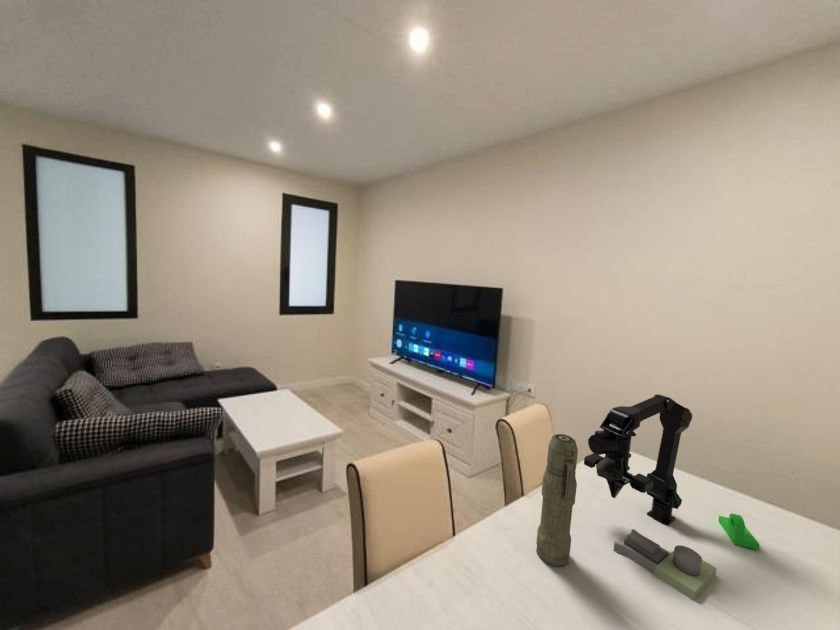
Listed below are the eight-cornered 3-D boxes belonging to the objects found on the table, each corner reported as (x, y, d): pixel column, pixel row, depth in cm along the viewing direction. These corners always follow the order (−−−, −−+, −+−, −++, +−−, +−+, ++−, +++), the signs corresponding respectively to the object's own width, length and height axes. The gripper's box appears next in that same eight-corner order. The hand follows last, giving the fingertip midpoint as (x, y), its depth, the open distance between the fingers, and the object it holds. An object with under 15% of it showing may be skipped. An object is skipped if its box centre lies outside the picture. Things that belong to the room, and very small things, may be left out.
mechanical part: (758, 550, 109) (762, 525, 108) (734, 543, 111) (737, 519, 110) (740, 526, 120) (743, 504, 119) (718, 520, 122) (721, 499, 121)
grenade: (549, 574, 94) (562, 448, 91) (527, 542, 106) (538, 429, 103) (579, 571, 96) (592, 447, 93) (554, 539, 107) (565, 428, 104)
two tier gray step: (631, 544, 108) (633, 528, 107) (664, 565, 100) (666, 548, 100) (622, 550, 105) (624, 534, 104) (656, 572, 97) (658, 554, 97)
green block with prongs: (638, 531, 114) (640, 512, 113) (715, 576, 97) (718, 554, 97) (611, 549, 105) (614, 529, 104) (692, 602, 88) (695, 578, 88)
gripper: (576, 442, 113) (571, 489, 115) (637, 470, 98) (631, 523, 99) (595, 436, 119) (591, 480, 121) (656, 460, 104) (650, 511, 105)
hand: (613, 497), depth 111 cm, fingers closed
